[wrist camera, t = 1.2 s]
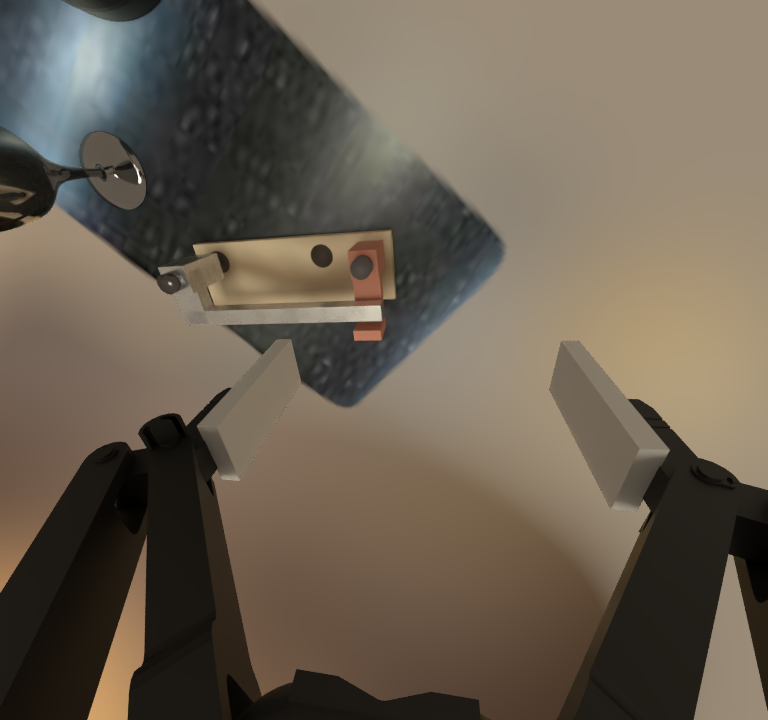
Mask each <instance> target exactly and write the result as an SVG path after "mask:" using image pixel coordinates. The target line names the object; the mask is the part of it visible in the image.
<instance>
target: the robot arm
mask: <svg viewBox="0 0 768 720" xmlns="http://www.w3.org/2000/svg"><path fill="white" fill-rule="evenodd" d="M62 1H64V2H66V3H68V4H70V5H72V6H74V7H76V8H78V9H80V10H83V11H85V12H87V13H89V14H91V15H94V16H96V17H99V18H102V19H106V20H111V21H127V20H131V19H135V18H137V17H140V16H142V15H143V14H145V13H147V12H148V11H149V10H151V9H152V8H153V7H154V6H155V5H156V3H157V2H158V1H159V0H62ZM300 384H301V380H300V376H299V372H298V368H297V363H296V359H295V355H294V351H293V346H292V342H291V339H277V340H276V341H275V342H274V343H273V344H272V345H271V346H270V347H269V349H268V350H267V351H266V352H265V353H264V354H263V355H262V356H261V357H260V358H259V359H258V360H257V362H256V363H255V364H254V365H253V366H252V367H251V368H250V369H249V370H248V371H247V372H246V373H245V375H244V376H243V377H242V378H241V379H240V380H239V381H238V382H237V383H236V384H235V385H234V386H233V388H227V389H225V390H223V391H222V392H220V393H219V394H217V395H216V396H215V397H214V398H213V399H212V400H211V401H210V403H209V404H208V405H207V406H205V407H204V409H203V410H202V411H201V412H200V413H199V414H198V415H197V416H196V417H195V418H194V419H193V420H192V421H191V422H190V423H189V424H188V425H187V426H185V424H184V422H183V420H182V418H181V416H180V415H178V414H175V413H173V414H165V415H161V416H158V417H156V418H154V419H152V420H150V421H149V422H147V423H146V424H144V425H143V427H142V428H141V429H140V430H139V433H138V434H139V436H140V437H141V439H142V441H143V442H144V444H145V446H146V447H147V448H146V449H140V450H134V451H132V450H131V449H130V447H129V446H128V444H127V443H125V442H113V443H110V444H108V445H104V446H102V447H100V448H98V449H96V450H95V451H94V452H92V453H91V454H90V455H89V456H88V457H87V458H86V459H85V460H84V462H83V463H82V465H81V466H80V468H79V469H78V471H77V473H76V474H75V476H74V477H73V479H72V481H71V482H70V484H69V485H68V487H67V488H66V490H65V492H64V493H63V495H62V496H61V498H60V500H59V501H58V503H57V504H56V506H55V507H54V509H53V511H52V512H51V514H50V516H49V517H48V518H47V520H46V522H45V523H44V525H43V526H42V528H41V530H40V531H39V533H38V534H37V536H36V537H35V539H34V541H33V542H32V544H31V545H30V547H29V549H28V550H27V552H26V553H25V555H24V557H23V558H22V560H21V561H20V563H19V564H18V566H17V568H16V569H15V571H14V573H13V574H12V575H11V577H10V579H9V580H8V582H7V583H6V585H5V587H4V588H3V590H2V592H1V593H0V720H87V719H88V716H89V712H90V709H91V706H92V703H93V700H94V697H95V694H96V691H97V688H98V685H99V681H100V678H101V675H102V672H103V669H104V666H105V663H106V660H107V657H108V653H109V650H110V647H111V644H112V641H113V638H114V635H115V631H116V629H117V626H118V622H119V619H120V616H121V613H122V610H123V607H124V603H125V600H126V598H127V594H128V591H129V588H130V585H131V582H132V579H133V576H134V573H135V569H136V566H137V563H138V560H139V557H140V554H141V551H142V548H143V545H144V542H145V539H146V535H147V560H146V561H147V562H146V606H145V607H146V608H145V652H144V661H143V664H142V666H141V667H139V668H138V669H137V670H136V671H135V672H134V674H133V676H132V679H131V683H130V690H129V704H128V720H491V719H489V718H487V717H486V716H484V715H482V714H480V708H479V700H476V699H470V698H464V697H458V696H452V695H447V694H441V693H435V692H428V693H424V694H418V695H413V696H408V697H403V698H398V699H393V700H389V701H381V700H378V699H376V698H375V697H373V696H371V695H369V694H368V693H366V692H364V691H363V690H361V689H359V688H357V687H356V686H354V685H352V684H350V683H349V682H347V681H345V680H344V679H342V678H340V677H339V676H334V675H328V674H322V673H316V672H310V671H304V670H299V669H297V670H296V673H295V677H294V680H293V682H292V683H288V684H285V685H283V686H280V687H278V688H276V689H274V690H272V691H270V692H268V693H266V694H265V695H264V696H261V692H260V689H259V686H258V682H257V680H256V677H255V674H254V672H253V669H252V666H251V662H250V658H249V653H248V647H247V643H246V638H245V633H244V628H243V623H242V618H241V613H240V609H239V603H238V599H237V593H236V589H235V583H234V579H233V574H232V569H231V564H230V559H229V554H228V549H227V544H226V539H225V534H224V529H223V525H222V519H221V514H220V510H219V505H218V500H217V495H216V490H215V485H214V482H213V480H212V478H211V477H212V475H213V474H214V473H215V471H216V470H217V469H218V472H219V474H220V476H221V477H222V479H224V480H237V481H240V480H241V479H242V477H243V475H244V474H245V472H246V470H247V469H248V467H249V466H250V464H251V462H252V461H253V459H254V458H255V456H256V455H257V453H258V451H259V449H260V448H261V447H262V445H263V443H264V442H265V440H266V439H267V437H268V435H269V434H270V432H271V430H272V429H273V427H274V426H275V424H276V422H277V421H278V419H279V418H280V416H281V415H282V413H283V411H284V410H285V408H286V407H287V405H288V403H289V402H290V400H291V399H292V397H293V395H294V394H295V392H296V390H297V389H298V387H299V386H300ZM549 390H550V392H551V394H552V396H553V398H554V400H555V402H556V404H557V406H558V408H559V410H560V411H561V414H562V415H563V417H564V419H565V421H566V423H567V425H568V427H569V429H570V431H571V433H572V435H573V437H574V439H575V441H576V443H577V445H578V447H579V448H580V451H581V452H582V454H583V456H584V458H585V460H586V462H587V464H588V466H589V468H590V470H591V472H592V474H593V476H594V478H595V480H596V482H597V484H598V486H599V488H600V490H601V491H602V493H603V495H604V497H605V499H606V501H607V503H608V505H609V507H610V509H612V510H624V511H637V510H638V508H639V506H640V505H641V502H642V501H643V499H644V501H645V502H646V504H647V506H648V507H649V509H650V510H651V511H650V513H649V515H648V516H647V518H646V520H645V522H644V523H643V525H642V527H641V529H640V530H639V532H640V534H639V537H638V539H637V541H636V543H635V546H634V548H633V550H632V552H631V554H630V557H629V559H628V561H627V563H626V566H625V568H624V570H623V572H622V575H621V577H620V579H619V581H618V583H617V586H616V588H615V590H614V592H613V595H612V597H611V599H610V601H609V604H608V606H607V608H606V611H605V613H604V615H603V617H602V619H601V622H600V624H599V626H598V628H597V631H596V633H595V635H594V637H593V640H592V642H591V644H590V646H589V648H588V651H587V653H586V655H585V657H584V660H583V662H582V664H581V666H580V669H579V671H578V673H577V676H576V678H575V680H574V682H573V684H572V687H571V689H570V691H569V693H568V696H567V698H566V700H565V702H564V705H563V707H562V709H561V711H560V714H559V716H558V718H557V720H693V719H694V715H695V709H696V705H697V701H698V695H699V691H700V686H701V681H702V677H703V672H704V667H705V662H706V658H707V653H708V648H709V643H710V638H711V633H712V629H713V624H714V620H715V615H716V610H717V605H718V601H719V596H720V591H721V586H722V582H723V576H724V572H725V567H726V563H727V558H728V554H730V555H733V556H734V561H735V565H736V570H737V574H738V579H739V583H740V588H741V592H742V597H743V601H744V606H745V611H746V615H747V620H748V624H749V629H750V633H751V638H752V642H753V647H754V651H755V656H756V660H757V665H758V669H759V674H760V678H761V683H762V687H763V692H764V696H765V701H766V705H767V710H768V490H765V489H762V488H758V487H754V486H750V485H746V484H742V483H740V482H739V481H738V479H737V478H736V477H735V476H734V475H733V474H732V473H730V472H729V471H727V470H726V469H725V468H723V467H721V466H719V465H717V464H715V463H713V462H711V461H707V460H704V459H701V458H698V457H697V456H696V455H695V454H694V453H693V452H692V451H691V450H690V449H689V447H688V446H687V445H686V444H685V443H684V442H683V441H682V440H681V439H680V437H678V435H677V434H676V433H675V432H674V431H673V430H672V429H670V426H668V424H667V423H666V422H665V421H663V420H662V418H661V417H660V416H659V414H658V413H657V412H656V411H655V410H654V409H653V408H652V407H650V406H649V405H647V404H645V403H644V402H642V401H641V400H638V399H627V398H626V397H625V396H624V394H623V393H622V392H621V391H620V390H619V388H618V387H617V386H616V385H615V384H614V382H613V381H612V380H611V379H610V377H609V376H608V375H607V374H606V373H605V371H604V370H603V369H602V368H601V367H600V366H599V364H598V363H597V362H596V361H595V360H594V358H593V357H592V356H591V355H590V353H589V352H588V351H587V350H586V349H585V347H584V346H583V345H582V344H581V343H580V341H561V343H560V348H559V352H558V356H557V360H556V364H555V368H554V372H553V376H552V381H551V385H550V389H549Z"/></svg>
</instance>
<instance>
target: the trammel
mask: <svg viewBox="0 0 768 720" xmlns="http://www.w3.org/2000/svg"><path fill="white" fill-rule="evenodd" d="M221 266H223V261H222V260H221V259H219V258H218V256H217V253H212V254H197V255H192V256H189V257H186V258H183V259H180V260H178V261H175V262H172V263H169V264H166V265H163V266H160V267H158V269H159V271H160V273H161V275H160V276H159V277H158V278H157V283H158V286H159V287H160V289H161V290H162V291H163V292H165V293H167V294H170V295H174V297H175V299H176V301H177V304H178V306H179V308H180V311H181V313H182V315H183V317H184V320H185V322H186V324H189V326H193V325H235V324H276V323H317V322H359V321H382V320H383V317H384V306H383V300H362V301H333V302H305V303H277V304H248V305H220V306H213V304H212V301H211V298H210V296H209V293H208V290H207V287H208V286H210V285H212V284H214V283H216V282H218V281H220V280H222V279H224V278H225V277H224V274H223V271H222V268H221Z"/></svg>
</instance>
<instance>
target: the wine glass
mask: <svg viewBox="0 0 768 720" xmlns="http://www.w3.org/2000/svg"><path fill="white" fill-rule="evenodd" d="M79 157H80V163H81V167H82V168H77V167H69V166H63V165H59V164H56V163H53V162H51V161H49V160H48V159H46V158H45V157H43V156H42V155H41V154H40V153H39V152H37V151H36V150H35V149H34V148H33V147H32V146H30V145H29V144H28V143H27V142H25V141H24V140H23V139H21V138H20V137H18V136H17V135H15V134H14V133H12V132H11V131H9V130H7V129H6V128H4V127H1V126H0V232H3V231H7V230H11V229H14V228H18V227H21V226H24V225H27V224H29V223H32V222H34V221H36V220H38V219H40V218H41V217H43V216H44V215H46V214H47V213H48V212H49V211H50V210H51V208H52V207H53V205H54V203H55V200H56V196H57V193H58V189H59V187H60V186H61V185H62V184H63V183H64V182H66V181H70V180H74V179H80V178H86V179H87V181H88V182H89V184H90V185H91V187H92V188H93V189H94V191H95V192H96V193H97V194H98V195H99V196H100V197H101V198H102V199H103V200H105V201H106V202H107V203H109V204H111V205H112V206H114V207H117V208H119V209H124V210H132V209H135V208H137V207H139V206H140V205H141V204H142V203H143V201H144V199H145V196H146V191H147V184H146V178H145V174H144V171H143V168H142V166H141V164H140V162H139V160H138V159H137V157H136V156H135V154H134V153H133V152H132V150H131V149H130V148H129V147H128V146H127V145H126V144H125V143H124V142H123V141H121V140H120V139H119V138H117V137H115V136H114V135H112V134H109V133H107V132H102V131H95V132H92V133H89V134H88V135H87V136H85V138H84V139H83V140H82V143H81V145H80V150H79Z"/></svg>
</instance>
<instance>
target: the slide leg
mask: <svg viewBox="0 0 768 720" xmlns="http://www.w3.org/2000/svg"><path fill="white" fill-rule="evenodd" d="M347 253H348V260H349V267H350V275H351V280H352V281H353V288H354V295H355V301H362V300H383V289H382V278H381V274H382V272H383V271H384V269H385V254H384V242H383V240H378V241H363V242H357V243H356V244H355V245H354V246H353V247H352V248H350V249H349V250H348V251H347ZM383 306H384V300H383ZM385 327H386V322H385V317H383V320H382V321H359V322H358V323H357V325H356V327H355V329H354V331H353V333H354V340H382V337H383V333H384V330H385Z"/></svg>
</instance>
